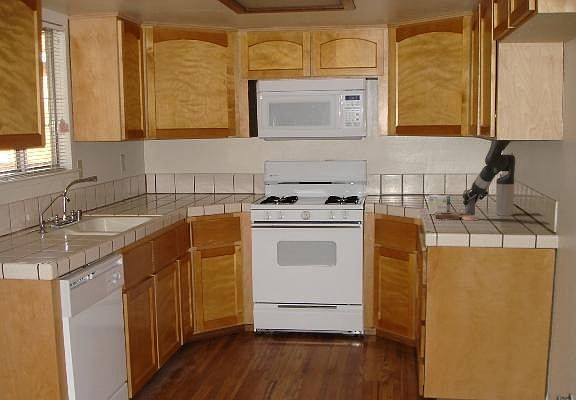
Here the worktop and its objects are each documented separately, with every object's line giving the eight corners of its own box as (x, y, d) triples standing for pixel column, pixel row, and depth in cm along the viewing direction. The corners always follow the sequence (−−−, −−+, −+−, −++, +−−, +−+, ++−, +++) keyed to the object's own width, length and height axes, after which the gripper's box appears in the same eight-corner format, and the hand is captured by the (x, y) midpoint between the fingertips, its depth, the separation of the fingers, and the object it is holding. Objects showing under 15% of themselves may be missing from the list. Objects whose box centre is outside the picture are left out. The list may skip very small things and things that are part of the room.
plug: (464, 214, 338) (465, 189, 336) (475, 214, 337) (475, 189, 335) (465, 215, 333) (466, 190, 331) (476, 215, 332) (476, 190, 330)
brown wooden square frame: (434, 216, 347) (434, 212, 347) (457, 216, 345) (457, 212, 345) (435, 219, 336) (435, 215, 335) (459, 220, 333) (459, 215, 333)
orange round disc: (460, 218, 340) (460, 216, 340) (478, 218, 339) (478, 216, 339) (462, 220, 332) (462, 218, 332) (480, 220, 330) (480, 219, 330)
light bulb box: (450, 214, 357) (450, 195, 355) (447, 215, 351) (447, 196, 350) (431, 213, 362) (432, 194, 361) (428, 214, 356) (428, 195, 355)
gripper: (491, 176, 328) (477, 197, 340) (467, 177, 324) (454, 199, 336) (497, 187, 323) (483, 208, 336) (472, 188, 319) (459, 210, 332)
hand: (468, 203), depth 336 cm, fingers closed on plug, 4 cm apart
